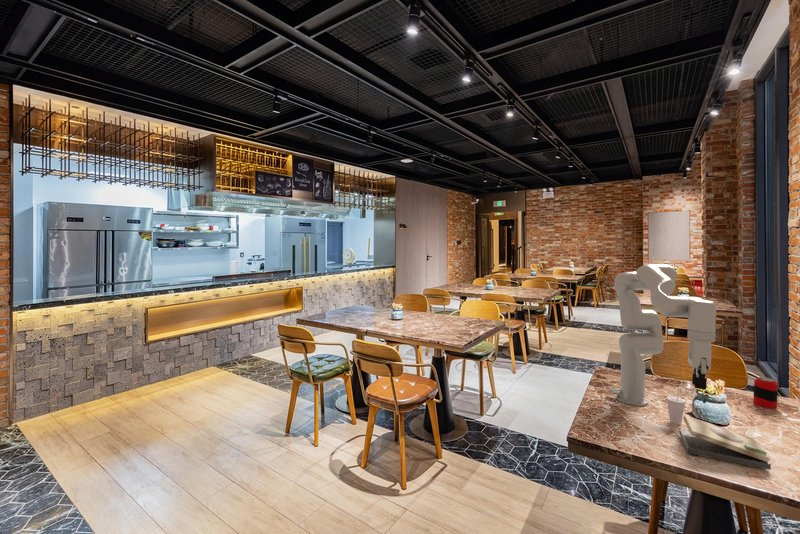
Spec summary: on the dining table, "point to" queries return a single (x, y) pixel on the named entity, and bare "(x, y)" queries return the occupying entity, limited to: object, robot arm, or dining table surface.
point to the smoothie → (676, 408)
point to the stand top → (725, 438)
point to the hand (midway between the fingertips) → (699, 386)
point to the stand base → (718, 451)
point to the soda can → (765, 393)
